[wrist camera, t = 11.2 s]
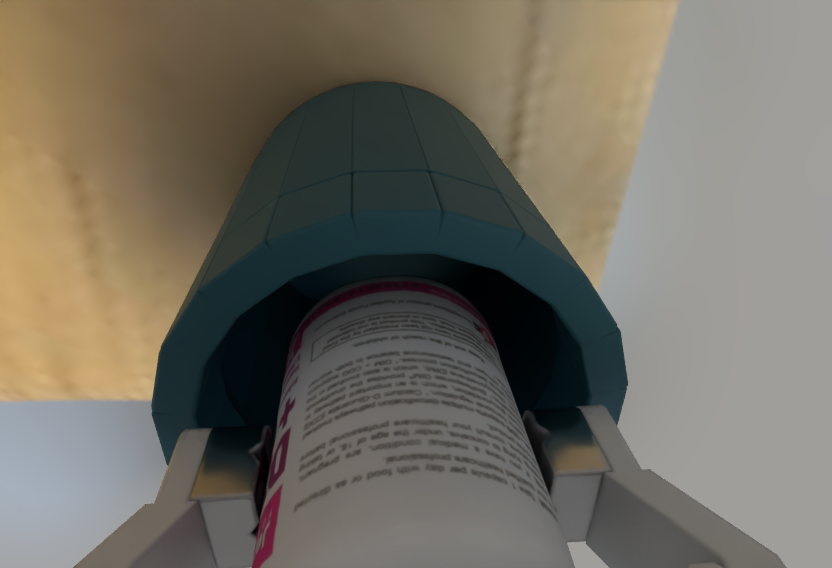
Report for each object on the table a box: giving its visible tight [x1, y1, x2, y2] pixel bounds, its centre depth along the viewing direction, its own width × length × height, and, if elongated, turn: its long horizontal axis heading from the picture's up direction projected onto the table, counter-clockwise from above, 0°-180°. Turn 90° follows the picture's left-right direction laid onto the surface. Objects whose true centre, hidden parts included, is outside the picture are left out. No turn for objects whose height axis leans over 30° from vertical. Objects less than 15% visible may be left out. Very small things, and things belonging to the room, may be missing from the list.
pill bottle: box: [252, 275, 575, 568], centre depth 9 cm, size 5×5×8 cm
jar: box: [151, 82, 628, 465], centre depth 16 cm, size 9×9×11 cm
